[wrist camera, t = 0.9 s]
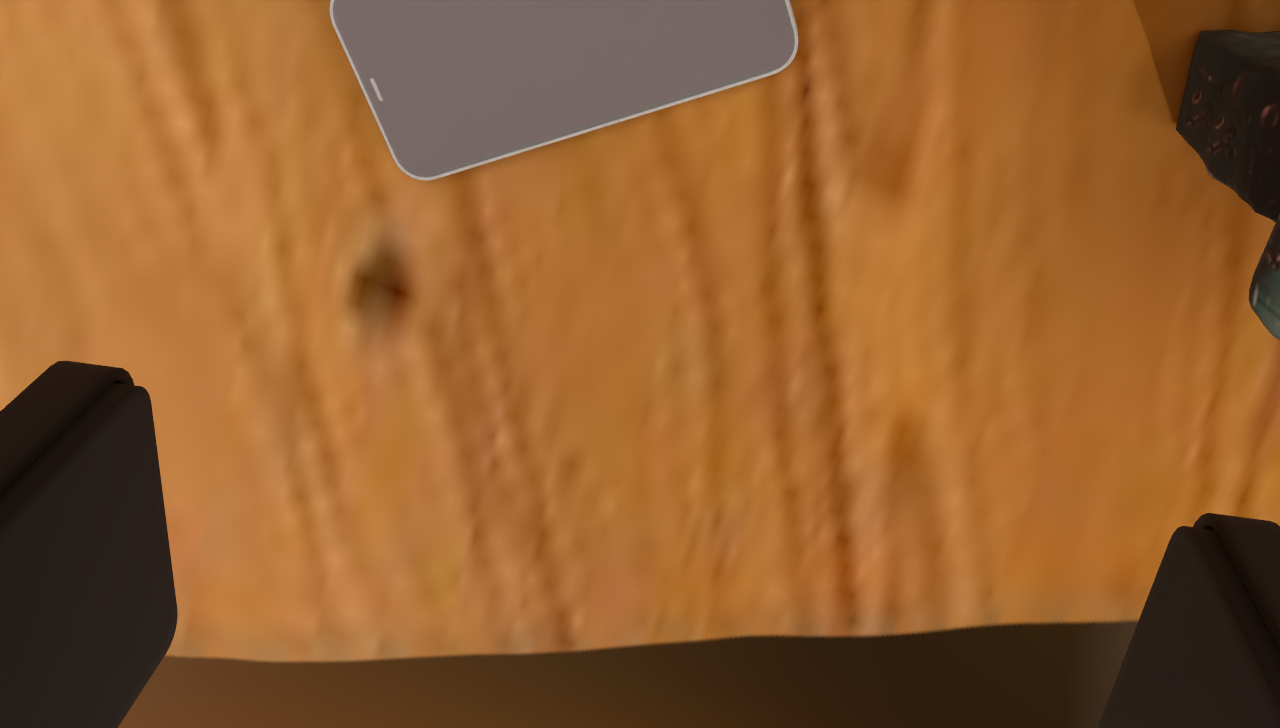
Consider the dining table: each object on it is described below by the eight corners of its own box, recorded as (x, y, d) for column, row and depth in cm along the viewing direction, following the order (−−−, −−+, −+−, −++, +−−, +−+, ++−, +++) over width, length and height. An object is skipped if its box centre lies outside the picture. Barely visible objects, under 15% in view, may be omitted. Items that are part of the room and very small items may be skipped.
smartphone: (807, 65, 40) (407, 189, 44) (806, 58, 41) (414, 180, 44) (743, -163, 37) (317, -9, 40) (743, -166, 38) (326, -15, 41)
